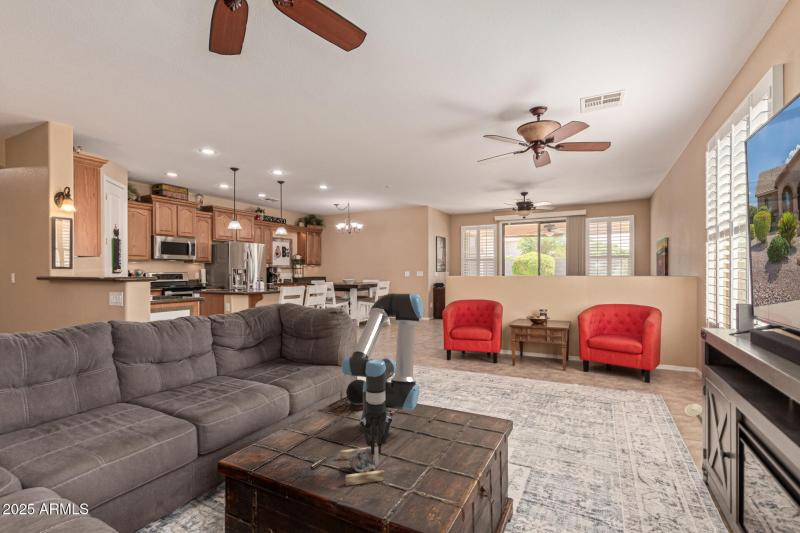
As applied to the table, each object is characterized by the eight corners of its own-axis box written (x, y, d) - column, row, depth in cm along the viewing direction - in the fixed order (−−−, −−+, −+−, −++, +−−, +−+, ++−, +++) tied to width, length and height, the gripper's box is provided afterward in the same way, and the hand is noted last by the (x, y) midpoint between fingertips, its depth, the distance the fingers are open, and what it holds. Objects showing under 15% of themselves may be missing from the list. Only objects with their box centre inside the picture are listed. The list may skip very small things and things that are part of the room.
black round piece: (372, 403, 215) (372, 376, 215) (368, 412, 202) (368, 384, 202) (349, 402, 216) (349, 376, 216) (343, 411, 203) (343, 383, 203)
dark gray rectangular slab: (314, 470, 145) (314, 469, 145) (314, 476, 141) (314, 475, 141) (300, 472, 144) (300, 471, 144) (300, 477, 140) (300, 477, 140)
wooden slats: (374, 453, 158) (374, 446, 158) (384, 480, 138) (384, 471, 138) (340, 458, 154) (340, 450, 154) (345, 485, 135) (345, 477, 135)
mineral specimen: (361, 486, 143) (367, 465, 153) (375, 476, 140) (381, 455, 150) (342, 469, 142) (350, 449, 152) (356, 458, 140) (363, 439, 149)
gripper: (389, 396, 153) (389, 455, 153) (357, 399, 149) (357, 459, 150) (394, 403, 146) (394, 464, 146) (360, 406, 142) (360, 469, 142)
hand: (375, 462), depth 148 cm, fingers closed
